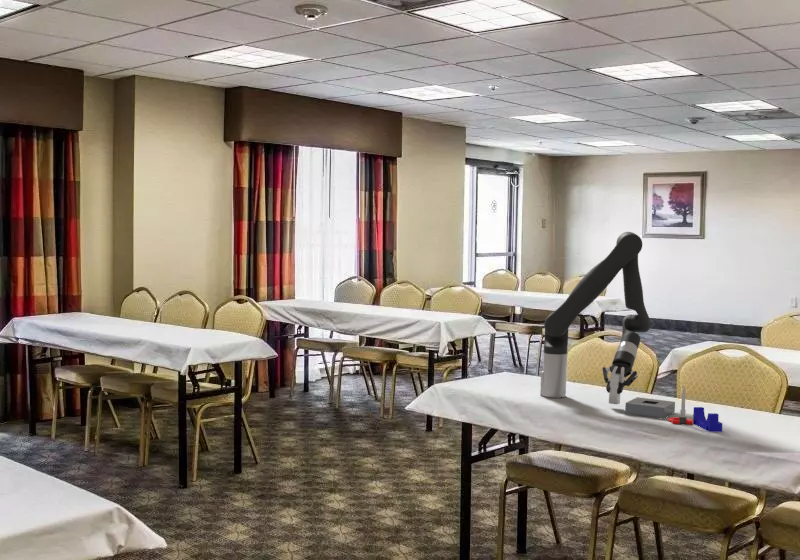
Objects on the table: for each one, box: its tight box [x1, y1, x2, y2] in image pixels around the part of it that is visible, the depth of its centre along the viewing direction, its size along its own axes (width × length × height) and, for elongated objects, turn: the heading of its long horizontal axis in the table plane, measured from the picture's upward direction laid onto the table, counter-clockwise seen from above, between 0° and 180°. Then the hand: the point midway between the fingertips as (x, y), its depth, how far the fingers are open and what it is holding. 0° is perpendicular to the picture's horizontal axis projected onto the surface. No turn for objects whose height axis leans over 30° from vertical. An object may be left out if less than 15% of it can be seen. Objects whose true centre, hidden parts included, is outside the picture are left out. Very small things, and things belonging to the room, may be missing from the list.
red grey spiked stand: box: [667, 386, 694, 426], centre depth 304 cm, size 8×13×9 cm
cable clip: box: [692, 406, 723, 433], centre depth 296 cm, size 12×4×6 cm, turn 7°
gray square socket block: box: [624, 396, 676, 420], centre depth 317 cm, size 14×14×4 cm
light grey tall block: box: [608, 373, 622, 405], centre depth 324 cm, size 3×3×11 cm
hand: (613, 392), depth 322 cm, fingers closed on light grey tall block, 3 cm apart
